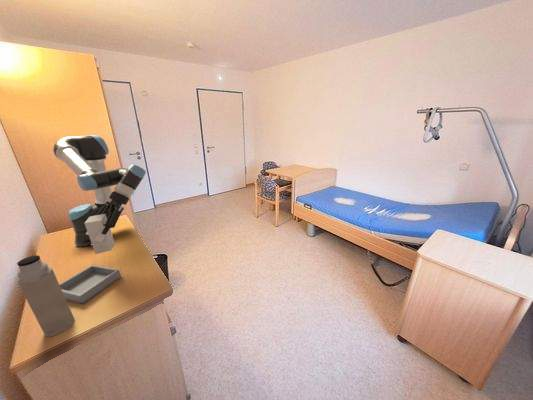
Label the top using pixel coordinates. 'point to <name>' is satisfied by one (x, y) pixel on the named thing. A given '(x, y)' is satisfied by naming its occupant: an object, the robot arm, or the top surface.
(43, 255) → the top surface
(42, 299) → the thermos bottle
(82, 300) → the tray
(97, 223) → the skincare box
